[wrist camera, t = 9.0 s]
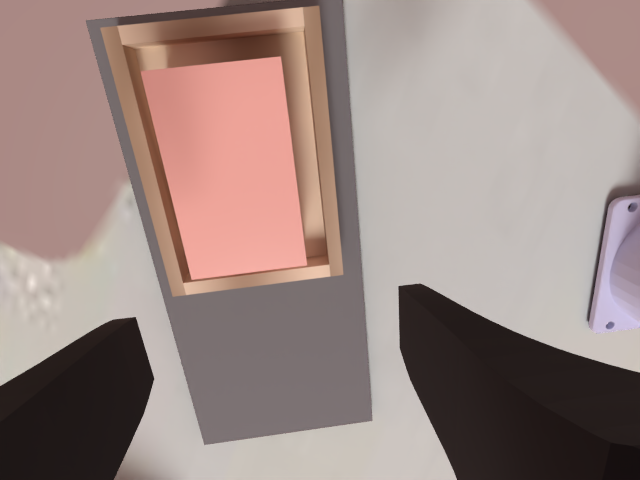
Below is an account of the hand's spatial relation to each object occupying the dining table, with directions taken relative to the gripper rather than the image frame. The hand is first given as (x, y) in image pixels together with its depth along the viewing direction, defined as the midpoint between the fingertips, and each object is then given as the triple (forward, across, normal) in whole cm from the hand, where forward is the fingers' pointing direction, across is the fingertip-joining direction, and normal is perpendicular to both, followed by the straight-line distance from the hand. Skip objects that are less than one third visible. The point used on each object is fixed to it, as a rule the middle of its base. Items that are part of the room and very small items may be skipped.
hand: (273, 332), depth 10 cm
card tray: (+8, +1, -4) cm, 9 cm away
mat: (+9, +1, +1) cm, 9 cm away
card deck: (+8, +1, -4) cm, 9 cm away
